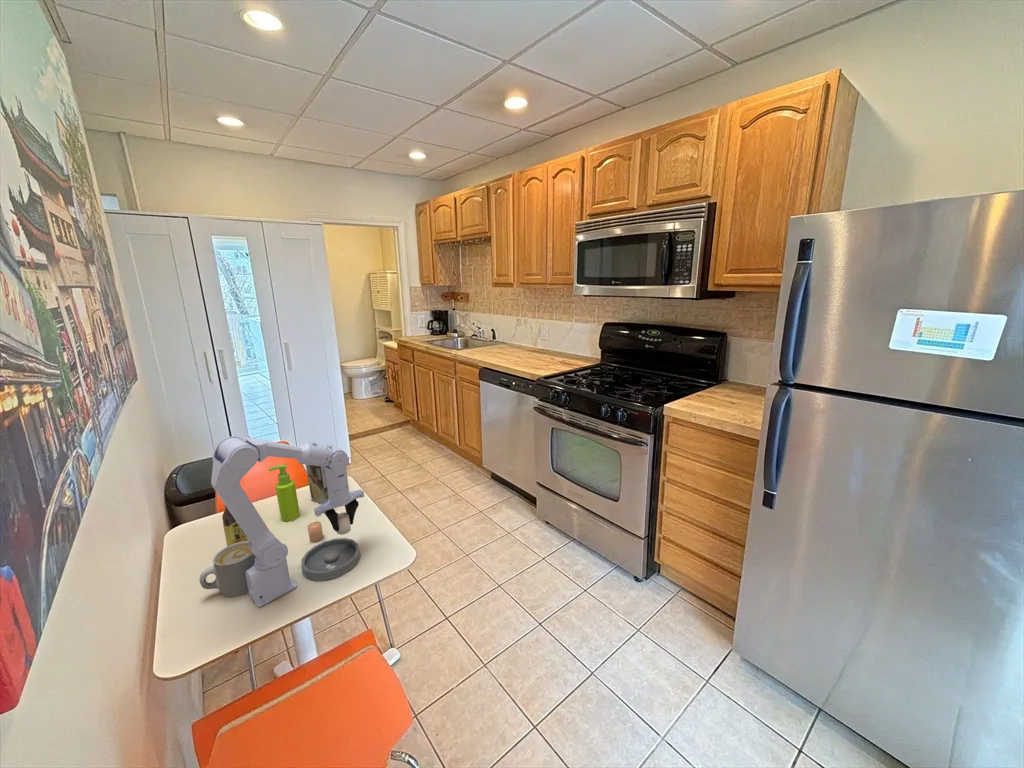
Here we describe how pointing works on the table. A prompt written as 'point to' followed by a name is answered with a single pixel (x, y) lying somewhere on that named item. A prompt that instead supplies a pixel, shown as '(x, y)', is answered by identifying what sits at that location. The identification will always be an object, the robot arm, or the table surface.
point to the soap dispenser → (286, 495)
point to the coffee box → (317, 483)
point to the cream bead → (343, 523)
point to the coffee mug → (230, 570)
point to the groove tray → (332, 569)
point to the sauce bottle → (232, 529)
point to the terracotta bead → (315, 531)
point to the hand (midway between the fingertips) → (343, 526)
